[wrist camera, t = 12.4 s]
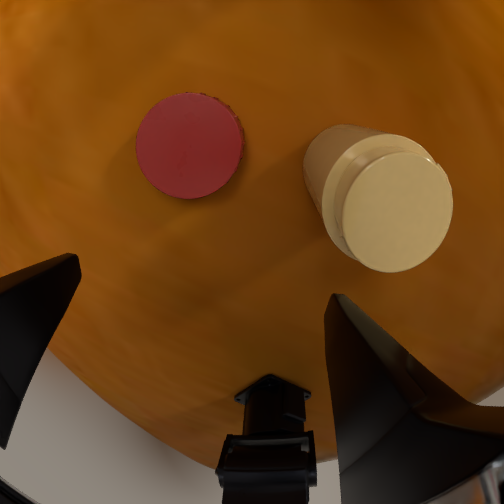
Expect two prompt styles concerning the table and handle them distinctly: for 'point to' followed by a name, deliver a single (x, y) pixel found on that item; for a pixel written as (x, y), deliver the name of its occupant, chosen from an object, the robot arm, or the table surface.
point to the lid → (189, 145)
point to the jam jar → (378, 196)
